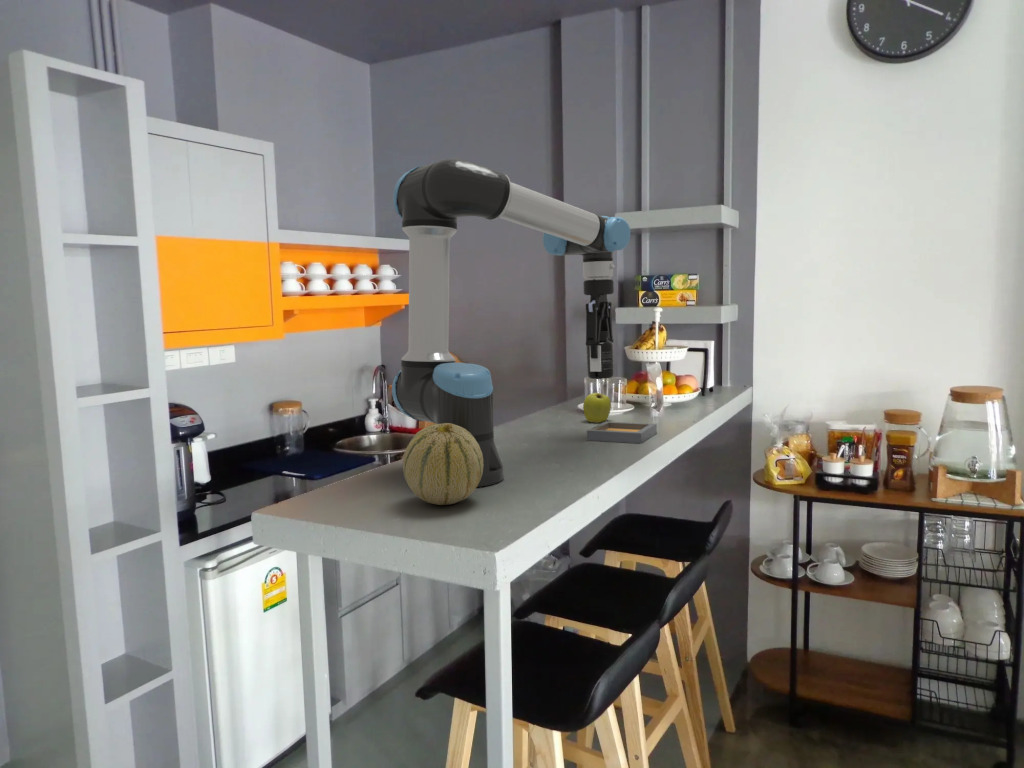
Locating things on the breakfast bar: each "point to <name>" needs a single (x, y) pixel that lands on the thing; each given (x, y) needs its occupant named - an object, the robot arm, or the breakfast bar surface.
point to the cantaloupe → (443, 464)
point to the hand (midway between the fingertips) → (600, 369)
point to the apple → (597, 407)
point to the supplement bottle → (602, 358)
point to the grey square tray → (622, 432)
